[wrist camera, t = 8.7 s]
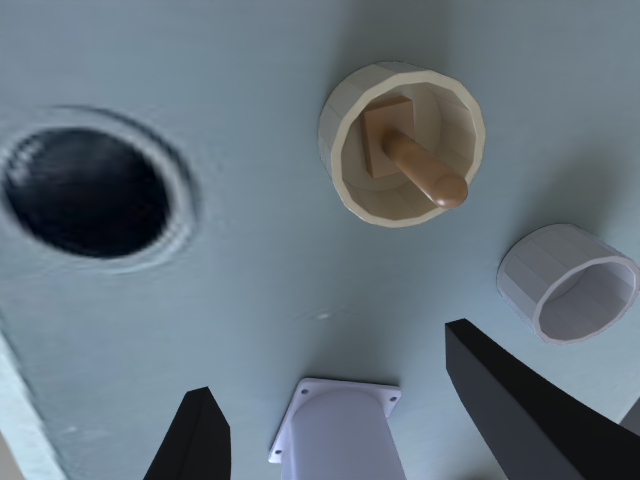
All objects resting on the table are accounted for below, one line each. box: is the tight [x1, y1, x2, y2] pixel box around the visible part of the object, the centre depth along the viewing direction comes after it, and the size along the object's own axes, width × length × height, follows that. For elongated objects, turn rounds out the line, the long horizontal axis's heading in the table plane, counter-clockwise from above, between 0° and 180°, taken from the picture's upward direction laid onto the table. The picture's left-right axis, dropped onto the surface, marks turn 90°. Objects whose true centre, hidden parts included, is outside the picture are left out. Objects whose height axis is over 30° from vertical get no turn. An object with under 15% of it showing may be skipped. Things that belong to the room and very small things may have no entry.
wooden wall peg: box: [359, 96, 468, 209], centre depth 15 cm, size 3×2×7 cm
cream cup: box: [317, 62, 486, 228], centre depth 17 cm, size 6×6×4 cm
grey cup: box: [497, 224, 640, 345], centre depth 23 cm, size 6×6×4 cm
